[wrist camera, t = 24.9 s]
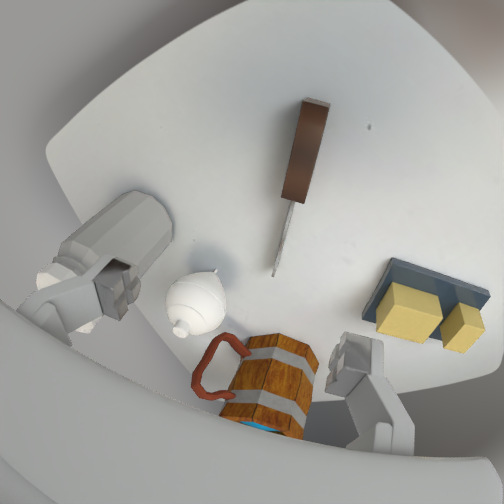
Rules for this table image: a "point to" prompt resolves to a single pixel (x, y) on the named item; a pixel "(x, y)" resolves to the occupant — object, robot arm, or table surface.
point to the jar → (113, 240)
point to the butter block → (408, 313)
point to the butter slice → (461, 328)
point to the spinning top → (196, 304)
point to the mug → (265, 383)
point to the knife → (303, 157)
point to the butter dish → (426, 290)
